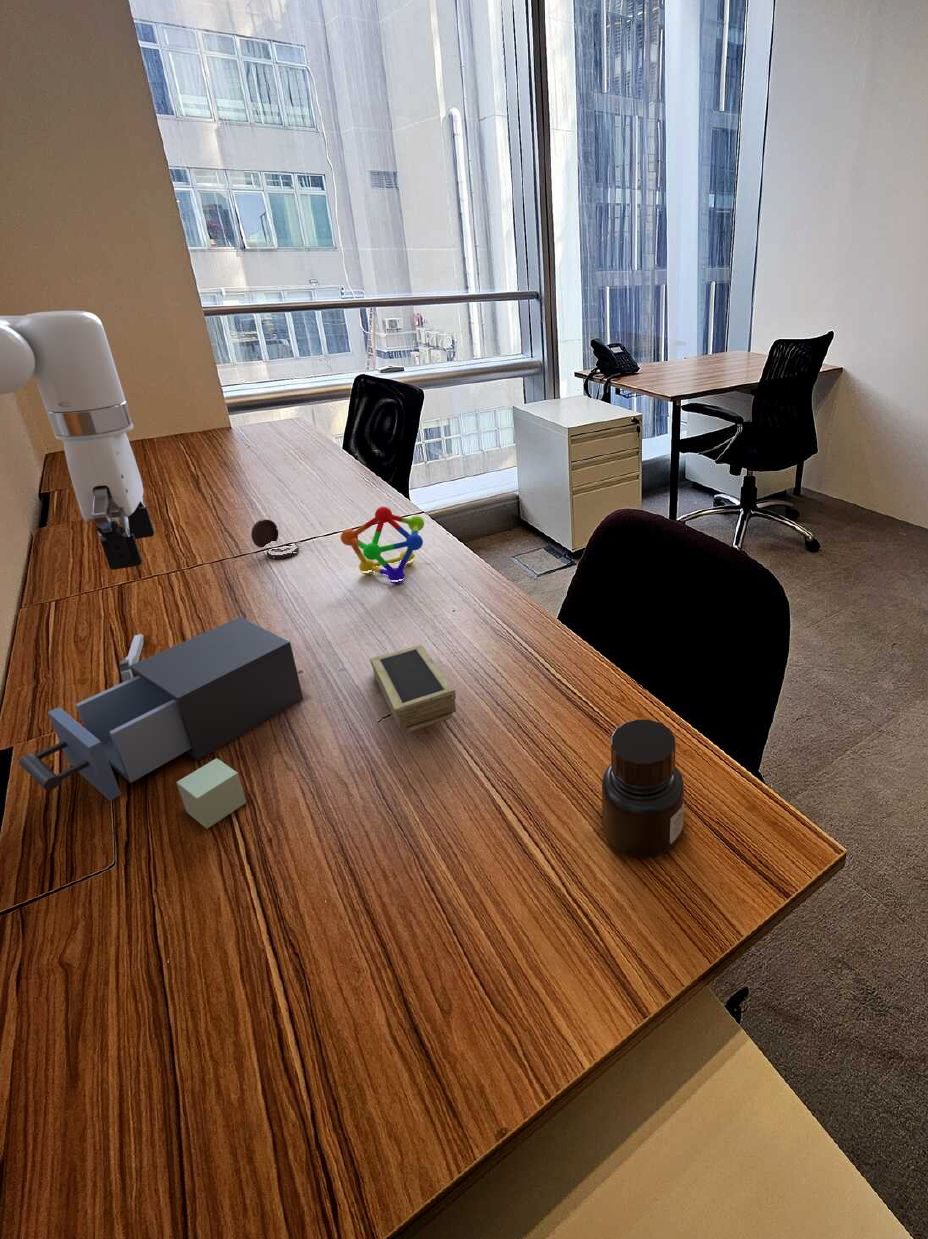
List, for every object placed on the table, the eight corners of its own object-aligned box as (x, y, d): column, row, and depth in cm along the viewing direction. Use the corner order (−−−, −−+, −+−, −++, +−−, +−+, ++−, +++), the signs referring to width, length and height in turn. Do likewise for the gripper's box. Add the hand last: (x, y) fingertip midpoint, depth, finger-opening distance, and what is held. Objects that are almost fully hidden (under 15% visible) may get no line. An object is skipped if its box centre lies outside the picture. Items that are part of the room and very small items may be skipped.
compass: (284, 561, 136) (277, 529, 133) (254, 556, 138) (246, 524, 135) (312, 546, 143) (306, 515, 140) (283, 541, 145) (277, 511, 142)
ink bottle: (696, 852, 70) (700, 764, 65) (616, 873, 67) (615, 783, 63) (664, 786, 78) (666, 704, 74) (593, 802, 76) (590, 719, 71)
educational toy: (378, 605, 121) (357, 533, 114) (350, 581, 130) (329, 513, 123) (452, 571, 130) (436, 503, 123) (421, 551, 139) (406, 486, 132)
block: (206, 829, 73) (196, 798, 71) (186, 812, 75) (176, 782, 73) (246, 802, 76) (237, 772, 75) (225, 787, 79) (216, 757, 77)
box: (402, 746, 83) (395, 710, 82) (366, 681, 102) (361, 651, 100) (465, 724, 87) (460, 689, 86) (420, 665, 106) (415, 636, 105)
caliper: (140, 703, 93) (127, 666, 91) (131, 706, 93) (118, 669, 90) (144, 637, 109) (133, 604, 107) (136, 639, 109) (125, 606, 106)
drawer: (65, 827, 72) (41, 772, 69) (25, 785, 78) (1, 732, 75) (227, 733, 86) (213, 684, 83) (183, 704, 92) (168, 657, 89)
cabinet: (197, 760, 83) (177, 698, 79) (149, 725, 89) (129, 665, 85) (303, 698, 94) (290, 641, 90) (254, 671, 100) (240, 616, 97)
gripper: (71, 409, 83) (112, 532, 90) (28, 442, 69) (81, 586, 75) (142, 403, 86) (177, 523, 93) (115, 433, 72) (158, 573, 78)
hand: (134, 551), depth 84 cm, fingers open, 9 cm apart
